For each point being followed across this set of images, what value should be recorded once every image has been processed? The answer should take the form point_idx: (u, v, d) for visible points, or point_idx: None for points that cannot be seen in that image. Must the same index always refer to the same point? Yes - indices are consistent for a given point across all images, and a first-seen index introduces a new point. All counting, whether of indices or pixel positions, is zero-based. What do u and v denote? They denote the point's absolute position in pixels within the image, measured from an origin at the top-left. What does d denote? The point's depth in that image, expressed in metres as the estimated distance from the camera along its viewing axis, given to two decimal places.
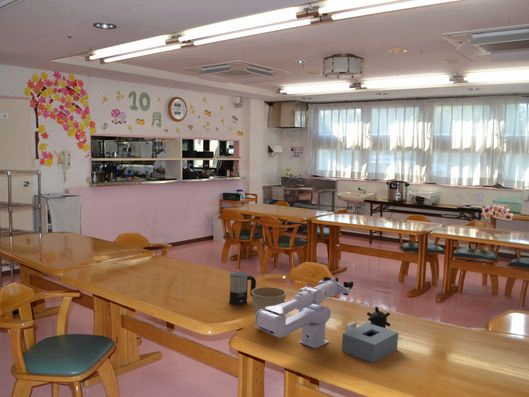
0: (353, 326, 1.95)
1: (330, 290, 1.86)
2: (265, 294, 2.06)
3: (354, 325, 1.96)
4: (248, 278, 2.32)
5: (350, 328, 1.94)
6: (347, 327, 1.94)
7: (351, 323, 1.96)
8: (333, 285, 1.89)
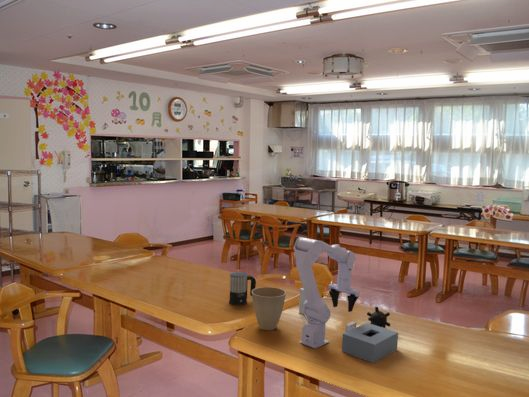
0: (353, 326, 1.95)
1: (350, 277, 1.94)
2: (265, 294, 2.06)
3: (354, 325, 1.96)
4: (248, 278, 2.32)
5: (350, 328, 1.94)
6: (347, 327, 1.94)
7: (351, 323, 1.96)
8: None
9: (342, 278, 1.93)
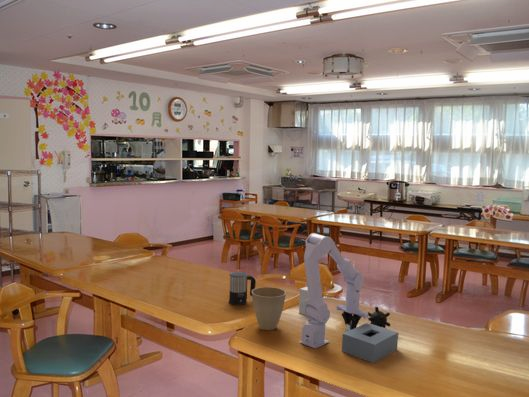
0: None
1: (358, 298, 1.93)
2: (265, 294, 2.06)
3: None
4: (248, 278, 2.32)
5: (350, 328, 1.94)
6: (347, 327, 1.94)
7: None
8: None
9: (349, 299, 1.93)
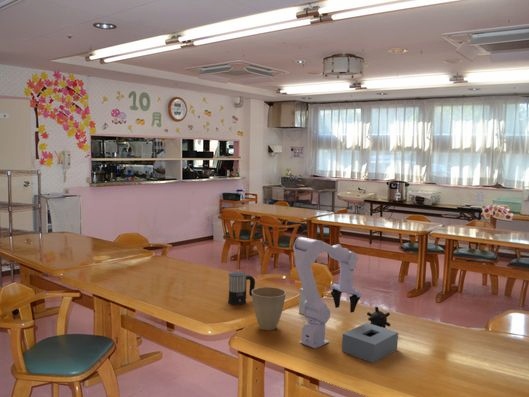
0: None
1: (352, 277, 1.94)
2: (265, 294, 2.06)
3: None
4: (247, 278, 2.33)
5: None
6: None
7: None
8: None
9: (344, 278, 1.93)
